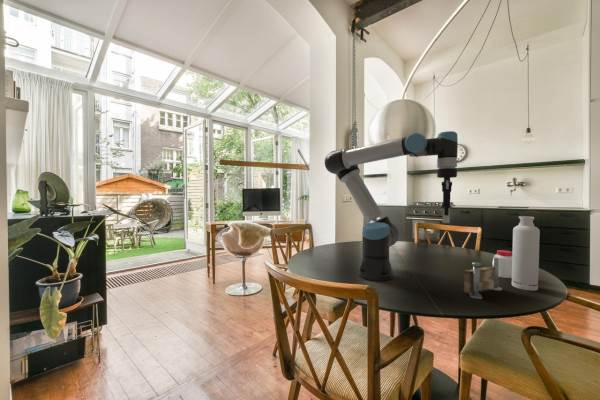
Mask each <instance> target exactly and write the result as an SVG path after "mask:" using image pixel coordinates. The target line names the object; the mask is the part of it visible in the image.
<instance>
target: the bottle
mask: <svg viewBox="0 0 600 400" xmlns="http://www.w3.org/2000/svg"><path fill="white" fill-rule="evenodd" d="M518 219H519V223H518V225H515V226H514V227H512V228H513V229H512V251H511V252H512V278H511V286H512V287H514V288H516V289H520V290H525V291H533V292H534V291H538V289H539V285H538V283H539V267H540V263H539V262H540V260H539V259H540V235H541V234H540V233H541V232H540V231H541V230H540V228H539V227H537V226H535V224H534V222H533V221H534V220H535V217H534V216H527V215H526V216H525V215H524V216H523V215H519V216H518Z"/></svg>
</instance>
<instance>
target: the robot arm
mask: <svg viewBox="0 0 600 400" xmlns="http://www.w3.org/2000/svg"><path fill="white" fill-rule="evenodd" d="M458 143H459V141H458V133H457V132H456V131H453V130H451V131H448V130H446V131H441V132H439V133H438V134H437V136H436V137H435V138H433V137H432V138H426V137H425V136H424V134H422V133H419V132H413V133H410V134H409V135H408V136H404V137H399V138H396V139H392V140H386V141H383V142H378V143H374V144H369V145H364V146H359V147H356V148H351V149H347V148H342V149H335V150H332V151H330V152H329V153H328V154H327V155H326V157H325V158H324V167H325V169H326V170H327V172H329V173H330V174H334V175H336V176H337V177H338V179H339V181H340V182H341V183H344V184H345V186H346V188H347V190H348V191H349V193H350V194H351V196H352V198H353V200H354V202H355V204H356V205H357V208H358V209H359V211H360V213H362V216H363V217H364V220H365V221H366V223H365V224H364V225H363V226H362V231H361V235H362V237H361V238H362V241H361V242H362V243H361V244H362V248H361V249H362V253H361V254H362V258H361V260H360V261H361V262H360V264H359V267H358V270H357V271H358V276H359V277H360V278H363V279H365V280H369V281H376V282H377V281H378V282H383V281H385V282H387V281H391V280H392V279H393V278H394V270H393V267H392V264H391V262H390V261H391V260H390V247H392V246H394V245H395V244H396V243H397V242H398V241H399V238H400V231H399V229H398V226H396V224H395V223H392V221H391V220H390V218H389V216H388V215H385V214H383V212H382V211H381V209H380V207H379V205H378V204H377V201H375V199H374V198H373V196H372V194H371V192H370V191H369V189H368V187H367V185H366V183H365V182H364V181H363V178H362V177H361V175H360V173H361V170H360V168H359V165H362V164H363V165H364V164H368V163H372V162H377V161H382V160H384V161H385V160H387V159H395V158H399V157H402V156H409V157H413V158H414V157H415V158H419V157H427V156H437V159H436V160H437V161H436V167H437V171H436V174H437V176H436V177H437V178H438V179H441V178H442V179H443V181H441V191H442V206H441V208H440V209H442V224H450V221H451V208H452V205H451V192H452V186H453V181H451V178H457V176H458V163H459V162H460V160H459V159H458V149H459V148H458V145H459V144H458Z"/></svg>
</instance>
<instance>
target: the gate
mask: <svg viewBox="0 0 600 400" xmlns="http://www.w3.org/2000/svg"><path fill="white" fill-rule="evenodd" d="M494 270H495V268H494V267H492V266H485V267H480V273H479V292H480V291H485V290H491V289H490V288H494ZM463 272H464V273H463V275H464V276H463V292H464V293H467V294H469V293H472V290H473V268H472V269H464V271H463Z"/></svg>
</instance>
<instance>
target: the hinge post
mask: <svg viewBox="0 0 600 400" xmlns="http://www.w3.org/2000/svg"><path fill="white" fill-rule="evenodd" d="M491 260H492V264H491V267H494V268H495V270H494V288H490V289H489V290H491V291H496V292H502V290H503V287H500V286H499V277H498V274H499V259H498V258H494V257H492V259H491Z"/></svg>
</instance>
